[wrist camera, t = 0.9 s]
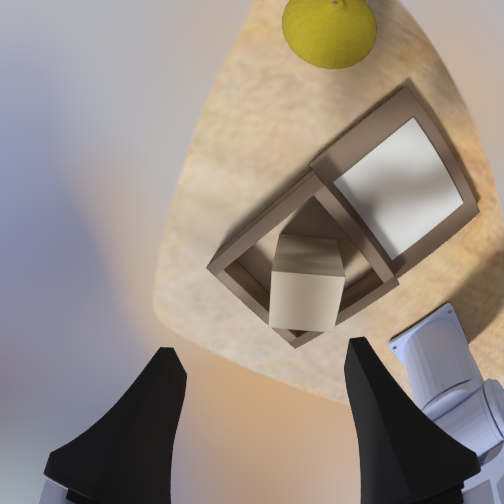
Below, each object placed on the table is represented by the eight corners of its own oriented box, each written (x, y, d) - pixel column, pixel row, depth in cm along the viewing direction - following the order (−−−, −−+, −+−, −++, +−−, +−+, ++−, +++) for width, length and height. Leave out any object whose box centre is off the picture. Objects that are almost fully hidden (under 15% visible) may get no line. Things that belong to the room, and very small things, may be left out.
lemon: (331, 4, 13) (343, -48, 6) (375, 60, 15) (414, 29, 8) (270, 34, 15) (252, -11, 8) (314, 90, 17) (323, 70, 10)
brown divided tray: (474, 208, 18) (489, 217, 16) (299, 333, 27) (298, 351, 24) (402, 87, 15) (414, 83, 13) (210, 250, 24) (201, 263, 22)
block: (335, 238, 22) (345, 277, 16) (328, 286, 24) (332, 332, 18) (279, 233, 22) (271, 271, 17) (276, 282, 24) (268, 327, 19)
